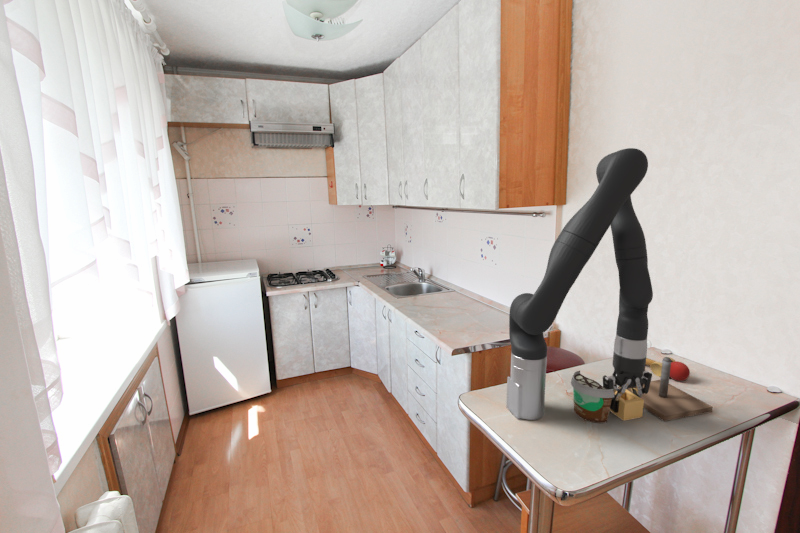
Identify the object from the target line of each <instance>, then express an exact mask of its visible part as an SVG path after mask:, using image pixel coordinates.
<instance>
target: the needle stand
mask: <svg viewBox="0 0 800 533" xmlns="http://www.w3.org/2000/svg"><path fill="white" fill-rule="evenodd" d="M669 357H670V356H664V357H663V358H662V361H663V362H662V361H661V363H662V370H661V377H660V379H655V380H651V382H650V386H649V391H648V393H647V394H645V393H644V394H643V395H642V396H641V399H643V400H644V404H643V409H645V410H646V411H647V412H649V413H651V414H652V415H654V416H656V417H657V418H659V419H660V420H661V421H664V422H666V421H671V420H676V419H678V420H679V419H681V418H686V417H687V418H688V417H693V416H697V415H702V414H708V413H712V412H713V408H714V407H713V406H712V405H710V404H709V403H706V402H704V401H703V400H702V399H701V400H700V399H699V398H697V397H695V396H693V395H691V394H689V393H688V392H686V391H684V390H681V389H680V388H678V387H676V386H674V385H672V384H671V383H670V368H671V359H670V358H671V357H670V358H669ZM644 386H645V385H644V384H643V388H644ZM617 387H618V388H619V389H621V387H619V386H617ZM627 390H628V391H630V392H632V390H631V388H628V389H627ZM632 393H633V392H632Z"/></svg>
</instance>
